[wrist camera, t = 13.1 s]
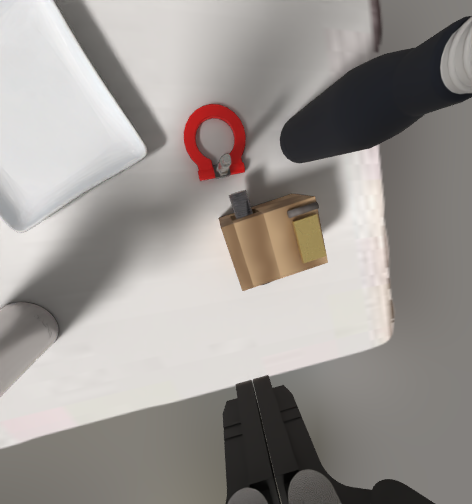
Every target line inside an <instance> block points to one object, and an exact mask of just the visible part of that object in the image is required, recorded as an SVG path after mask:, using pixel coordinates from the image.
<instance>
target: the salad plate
mask: <svg viewBox="0 0 472 504" xmlns="http://www.w3.org/2000/svg"><path fill="white" fill-rule="evenodd" d="M146 155H147V147H146V145H145V143H144V142H143V140H142V138H141V137H140V135H139V134H138V132H137V131H136V129H135V128H134V126H133V125H132V123H131V122H130V120H129V119H128V118H127V116H126V115H125V113H124V112H123V110H122V109H121V107H120V106H119V104H118V103H117V101H116V100H115V98H114V97H113V95H112V94H111V92H110V91H109V90H108V88H107V86H106V85H105V83H104V82H103V80H102V79H101V77H100V76H99V74H98V73H97V71H96V70H95V68H94V66H93V65H92V63H91V62H90V60H89V58H88V57H87V55H86V54H85V52H84V50H83V49H82V47H81V46H80V44H79V42H78V41H77V39H76V37H75V36H74V34H73V32H72V30H71V29H70V27H69V25H68V24H67V22H66V20H65V18H64V17H63V15H62V13H61V11H60V10H59V8H58V6H57V4H56V3H55V1H54V0H0V218H1V219H2V220H3V221H4V222H5V223H6V224H7V225H8V226H9V227H10V228H11V229H13V230H14V231H16V232H19V233H22V232H26V231H28V230H30V229H31V228H33V227H35V226H36V225H38V224H39V223H41V222H42V221H44V220H45V219H46V218H48V217H49V216H51V215H52V214H53V213H55V212H56V211H58V210H59V209H60V208H62V207H63V206H65V205H66V204H68V203H69V202H71V201H72V200H74V199H75V198H77V197H78V196H80V195H82V194H83V193H85V192H86V191H88V190H90V189H91V188H93V187H95V186H97V185H98V184H100V183H102V182H103V181H105V180H107V179H109V178H111V177H112V176H114V175H116V174H118V173H120V172H121V171H123V170H125V169H127V168H128V167H130V166H132V165H134V164H135V163H137V162H139V161H140V160H141V159H143V158H144V157H145V156H146Z"/></svg>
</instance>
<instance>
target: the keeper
mask: <svg viewBox="0 0 472 504" xmlns="http://www.w3.org/2000/svg"><path fill="white" fill-rule="evenodd" d="M292 224H293V228H294V232H295V236H296V240H297V244H298V248H299V251H300V255H301V259H302V262H303V263H307V262H310V261H313V260H316V259H319V258H322V257H325V256H326V252H325V247H324V243H323V239H322V234H321V230H320V225H319V221H318V216H317V214H313V215H310V216H307V217H304V218H301V219H298V220H295V221H292Z"/></svg>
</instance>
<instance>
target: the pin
mask: <svg viewBox="0 0 472 504" xmlns="http://www.w3.org/2000/svg"><path fill="white" fill-rule="evenodd" d="M229 198H230V201H231V204H232V207H233V210H234V213H235V217H236V219H239V218H242V217H245V216H248V215H251V214H253V212H252V209H251V206H250V202H249V199H248V195H247V192H246V190H243V191H239V192H236V193H233V194H231V195H229ZM271 282H272V281H271ZM268 283H270V282H268ZM265 284H267V283H265ZM262 285H264V284H262Z"/></svg>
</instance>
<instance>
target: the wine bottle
mask: <svg viewBox="0 0 472 504" xmlns="http://www.w3.org/2000/svg"><path fill="white" fill-rule="evenodd" d="M471 97H472V16H469V17H464V18H462V19H460V20H458V21H456V22H454V23H452V24H451V25H450V26H448V27H447V28H445V29H443V30H442V31H440V32H439V33H437V34H436V35H434V36H433V37H431V38H430V39H428V40H427V41H425V42H424V43H422V44H421V45H419V46H418V47H416V48H411V49H406V50H401V51H397V52H392V53H387V54H384V55H382V56H379V57H377V58H374V59H372V60H370V61H368V62H366V63H364V64H361V65H360V66H358V67H356V68H354V69H352V70H350V71H349V72H347V73H346V74H345V75H344V76H343V77H341V78H340V79H339V80H338V81H336V82H335V83H334V84H333V85H331V86H330V87H329V88H328V89H326V90H325V91H324V92H323V93H322V94H320V95H319V96H318V97H317V98H315V99H314V100H313V101H312V102H310V103H309V104H308V105H307V106H306V107H304V108H303V109H302V110H301V111H299V112H298V113H297V114H296V115H294V116H293V117H292V118H291V119H290V120H289V121H288V122H287V123H286V124H285V125H284V127H283V129H282V131H281V136H280V146H281V149H282V152H283V154H284V155H285V156H286V157H287V159H289V160H291V161H292V162H296V163H305V162H310V161H314V160H319V159H323V158H328V157H332V156H337V155H342V154H346V153H351V152H355V151H360V150H364V149H369V148H371V147H374V146H376V145H378V144H380V143H382V142H384V141H386V140H388V139H390V138H392V137H393V136H395V135H397V134H399V133H400V132H402V131H404V130H405V129H406V128H408V127H409V126H410V125H412V124H413V123H414V122H416V121H417V120H418V119H419V118H421V117H422V116H423V115H424V114H426V113H429V112H433V111H436V110H439V109H441V108H445V107H448V106H451V105H454V104H457V103H460V102H463V101H465V100H467V99H469V98H471Z"/></svg>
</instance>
